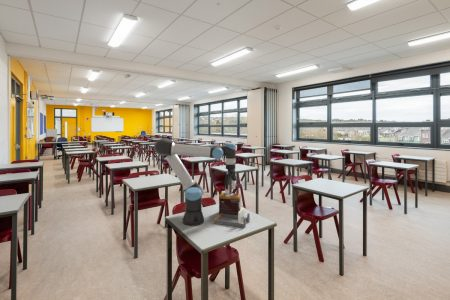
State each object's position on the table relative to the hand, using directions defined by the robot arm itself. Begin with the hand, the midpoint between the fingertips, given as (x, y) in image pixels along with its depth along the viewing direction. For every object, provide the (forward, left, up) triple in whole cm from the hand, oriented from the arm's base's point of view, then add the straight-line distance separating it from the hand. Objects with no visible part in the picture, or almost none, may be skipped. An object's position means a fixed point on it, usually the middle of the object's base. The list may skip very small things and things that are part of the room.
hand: (230, 191), depth 186 cm
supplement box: (0, 0, -19) cm, 19 cm away
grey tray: (+6, -14, -18) cm, 24 cm away
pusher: (+15, -14, -18) cm, 27 cm away
